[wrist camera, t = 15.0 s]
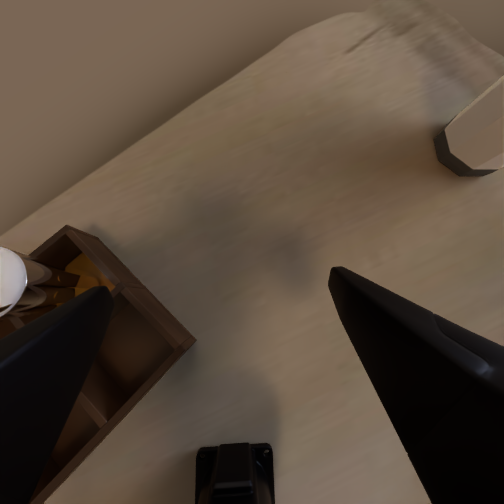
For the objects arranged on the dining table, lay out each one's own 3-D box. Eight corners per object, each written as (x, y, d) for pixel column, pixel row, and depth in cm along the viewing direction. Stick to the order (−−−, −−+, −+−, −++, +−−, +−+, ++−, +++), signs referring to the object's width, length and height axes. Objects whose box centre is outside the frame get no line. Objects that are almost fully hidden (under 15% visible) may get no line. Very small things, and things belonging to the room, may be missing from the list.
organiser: (196, 339, 20) (185, 349, 16) (66, 478, 18) (16, 530, 14) (97, 237, 22) (66, 224, 18) (-36, 349, 19) (-106, 362, 15)
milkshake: (89, 329, 19) (-65, 361, 10) (47, 294, 20) (-140, 291, 10) (124, 289, 20) (15, 281, 11) (83, 256, 21) (-58, 220, 11)
